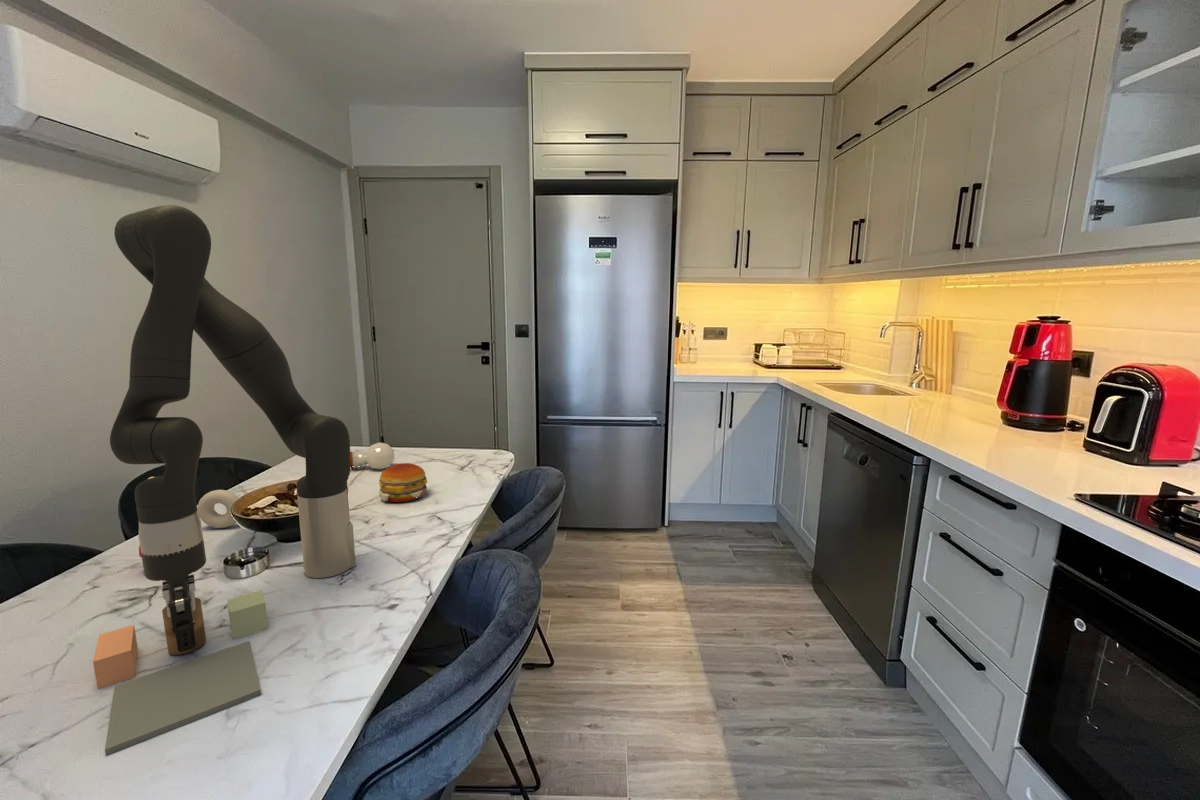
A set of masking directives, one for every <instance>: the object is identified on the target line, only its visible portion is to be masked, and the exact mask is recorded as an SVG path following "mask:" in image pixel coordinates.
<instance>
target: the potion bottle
mask: <svg viewBox="0 0 1200 800" xmlns="http://www.w3.org/2000/svg"><path fill="white" fill-rule="evenodd" d="M395 459H396V458H395V450H394V449H393V448H392V447H391V446H390V445H389V443H385V442H380V441H379V442H377V443H374V444H371V445H370V446H369V448H367V451H363V452H362V451H360V450H359V449H356V450H354V451H350V467H351V468H350V470H353V469H355V468H356V467H357V468H356V469H357V470H359V469H360V468H361V467H363V466H364V465H368V466H369V467H370V469H373V470H378V471H382V470H383V471H384V470H385V469H387V468H388V467H387V466H389V465H390V466H392V464H393V462H394V461H395ZM352 466H355V467H352ZM358 466H360V467H358ZM390 466H389V467H390ZM383 467H386V468H383Z"/></svg>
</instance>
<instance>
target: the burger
mask: <svg viewBox="0 0 1200 800" xmlns="http://www.w3.org/2000/svg"><path fill="white" fill-rule="evenodd" d="M378 481H379V482H378V484H379V491H378V494H379V497H380V498H381V499H382V502H394V503H395V502H396V503H404V502H410V501H413V500H416V499H419V498H421V497H422V496H423V495H424V494H425V492H426V490H427V487H428V486H427V483H428V479H427V476H426V471H425V470H424V469H423V468H422V467H421V466H419V465H418V464H417V465H416V464H414V463H407V462H405V463H402V462H401V463H398V464H396V463H395V464H393V465H390V467H388V468H385V469H383V471H382V472H381V474H380V476H379V480H378ZM423 493H424V494H423ZM422 494H423V495H422ZM416 497H417V498H416Z"/></svg>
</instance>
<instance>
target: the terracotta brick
mask: <svg viewBox="0 0 1200 800" xmlns="http://www.w3.org/2000/svg"><path fill="white" fill-rule="evenodd" d="M137 640H138V639H137V635H136V629H135V624H131V625H128V626H125V627H121V628H118V629H114V630H111V631H107V632H104V633H99V635H98V638H97V641H96V647H95V651H94V655H93V661H92V664H93V670H94V671H93V672H94V675H95V676H94V677H95V681H96V688H97V690H98V689H102V688H104V687H107V686H110V685H114V684H117V683H119V682H123V681H125V680H126V681H127V680H129V679H133V678H135V677H136V672H137V662H138V653H139V646H138V642H137Z"/></svg>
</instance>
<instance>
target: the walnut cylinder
mask: <svg viewBox="0 0 1200 800" xmlns="http://www.w3.org/2000/svg"><path fill="white" fill-rule="evenodd" d="M190 603H191V601H190ZM195 605H196V608H195V610H194V611H193V612H192V613H193V620H195V625H194V634H195V641H196V646H195V647H194V648H192V649H189V650H186V651H183V652H179V651H178V647H177V640H176V634H174V633H173V632H172V621H171V617H168V615H167V607H166V606H165V607H164V608H162V611H161V613H162V619H163V625H164V633H165V638H166V645H167V646H166V647H167V653H168V654H169V655H172V656H179V655H185V654H188V653H191V652H193V651H195V650H197V649H199V648H201V647H202V646H203V645H204V644H205V643H206V641H207V636H206V629H205V622H204V615H203V608H202V600H201V599H200V598H199V597H195ZM185 620H189V619H183V620H180V621H177V623H178V622H182V621H185Z"/></svg>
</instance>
